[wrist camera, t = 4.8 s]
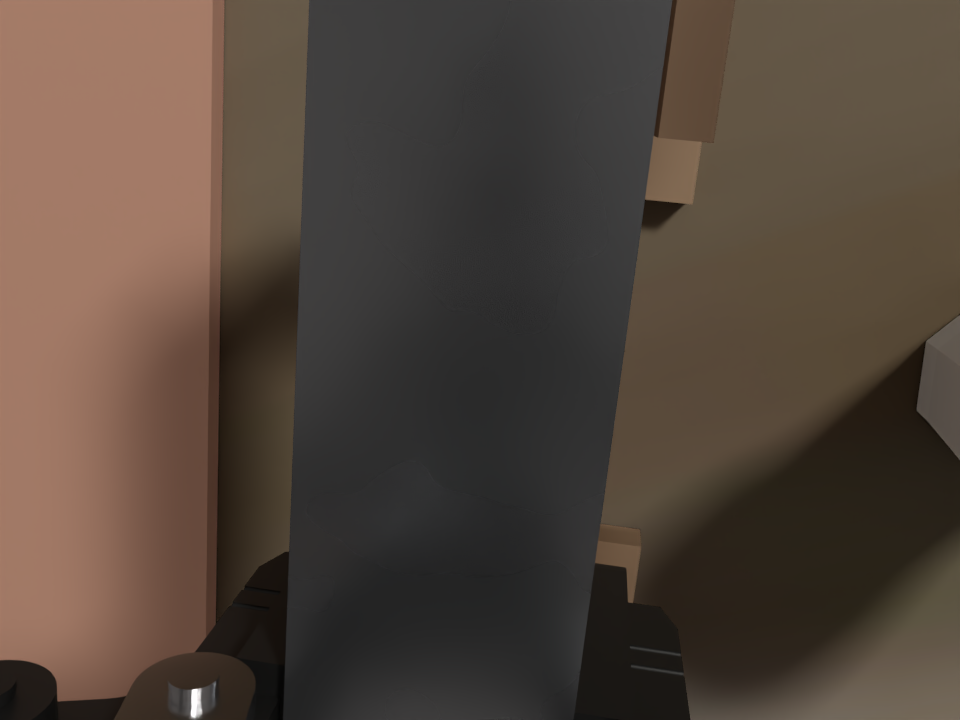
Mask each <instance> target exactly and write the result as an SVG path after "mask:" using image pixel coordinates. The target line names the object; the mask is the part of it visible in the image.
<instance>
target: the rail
mask: <svg viewBox="0 0 960 720" xmlns="http://www.w3.org/2000/svg"><path fill="white" fill-rule="evenodd" d="M671 6H672V0H309V26H308V53H307V80H306V108H305V135H304V162H303V190H302V217H301V245H300V272H299V299H298V327H297V354H296V381H295V409H294V436H293V463H292V491H291V518H290V545H289V573H288V600H287V627H286V655H285V682H284V709H283V720H574V712H575V705H576V698H577V690H578V683H579V676H580V669H581V661H582V654H583V647H584V639H585V632H586V625H587V618H588V610H589V603H590V596H591V589H592V581H593V574H594V567H595V559H596V552H597V545H598V538H599V530H600V523H601V516H602V509H603V501H604V494H605V487H606V479H607V472H608V465H609V458H610V450H611V443H612V436H613V428H614V421H615V414H616V407H617V399H618V392H619V385H620V378H621V370H622V363H623V356H624V348H625V341H626V334H627V327H628V319H629V312H630V305H631V298H632V290H633V283H634V276H635V268H636V261H637V254H638V247H639V239H640V232H641V225H642V218H643V210H644V203H645V196H646V188H647V181H648V174H649V167H650V159H651V152H652V145H653V137H654V130H655V123H656V116H657V108H658V101H659V94H660V87H661V79H662V72H663V65H664V57H665V50H666V43H667V36H668V28H669V21H670V14H671Z"/></svg>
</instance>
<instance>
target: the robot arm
mask: <svg viewBox="0 0 960 720" xmlns="http://www.w3.org/2000/svg"><path fill="white" fill-rule="evenodd" d="M288 573H289V552H284V553H283V554H281V555H279V556H277V557H276V558H274V559H272V560H270V561H268V562H267V563H265V564H263V565H261V566H260V567H259V568H258V569H257V570H256V572H255V573H254V574H253V576H252V577H251V578H250V580H249V581H248V582H247V584H246V585H245V588H244V590H241V592H240V593H239V594H238V596H237V597H236V598H235V600H234V601H233V604H232V606H229V607H228V609H227V610H226V611H225V613H224V614H223V615H222V617H221V618H220V619H219V621H218V622H217V623H216V625H215V626H214V627H213V629H212V630H211V631H210V633H209V634H208V635H207V637H206V638H205V639H204V641H203V642H202V643H201V645H200V646H199V647H198V649H197V650H196V651H195V652H194V653H186V654H180V655H176V656H173V657H169V658H166V659H164V660H161V661H159V662H157V663H155V664H153V665H152V666H150V667H148V668H147V669H146V670H144V671H143V672H142V673H141V674H140V675H139V676H138V677H137V678H136V679H135V681H134V682H133V684H132V686H131V688H130V690H129V692H128V693H127V695H126V696H123V697H118V698H108V699H92V700H74V701H57V682H56V679H55V677H54V675H53V674H52V673H51V672H50V671H49V670H48V669H46V668H45V667H43V666H41V665H39V664H36V663H32V662H28V661H22V660H0V720H283V709H284V682H285V655H286V627H287V600H288ZM683 672H684V671H683V664H682V657H681V649H680V642H679V635H678V629H677V628H676V627H675V625H674V624H673V623H672V622H671V620H670V619H669V618H668V617H667V615H666V614H665V613H664V612H663V610H662V609H661V608H660V607H656V606H649V605H642V604H635V603H629V602H628V590H627V570H626V567H619V566H612V565H605V564H598V563H595V567H594V574H593V581H592V589H591V596H590V603H589V610H588V618H587V625H586V632H585V639H584V647H583V654H582V661H581V669H580V676H579V683H578V690H577V698H576V705H575V712H574V720H690V714H689V707H688V700H687V693H686V685H685V678H684V676H683Z"/></svg>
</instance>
